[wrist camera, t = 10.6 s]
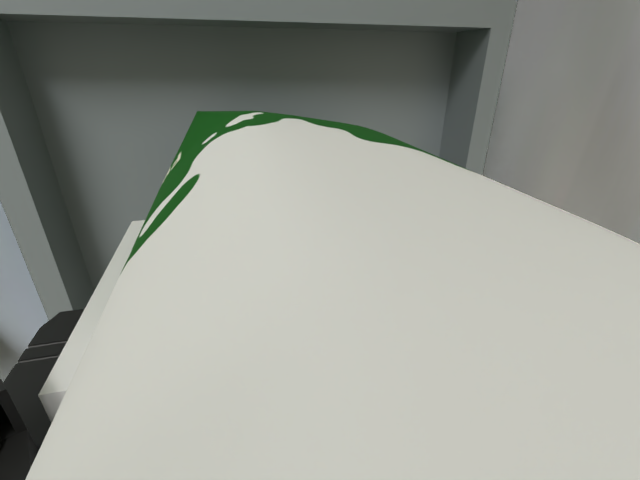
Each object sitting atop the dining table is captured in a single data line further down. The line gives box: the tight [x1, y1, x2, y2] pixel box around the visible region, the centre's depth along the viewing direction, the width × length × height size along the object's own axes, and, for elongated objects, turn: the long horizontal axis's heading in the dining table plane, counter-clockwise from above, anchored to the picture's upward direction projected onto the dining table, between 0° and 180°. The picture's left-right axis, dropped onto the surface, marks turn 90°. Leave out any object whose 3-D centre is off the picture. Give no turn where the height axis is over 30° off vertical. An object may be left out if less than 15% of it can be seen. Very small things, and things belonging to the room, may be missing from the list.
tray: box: [0, 0, 518, 320], centre depth 17 cm, size 16×20×3 cm
